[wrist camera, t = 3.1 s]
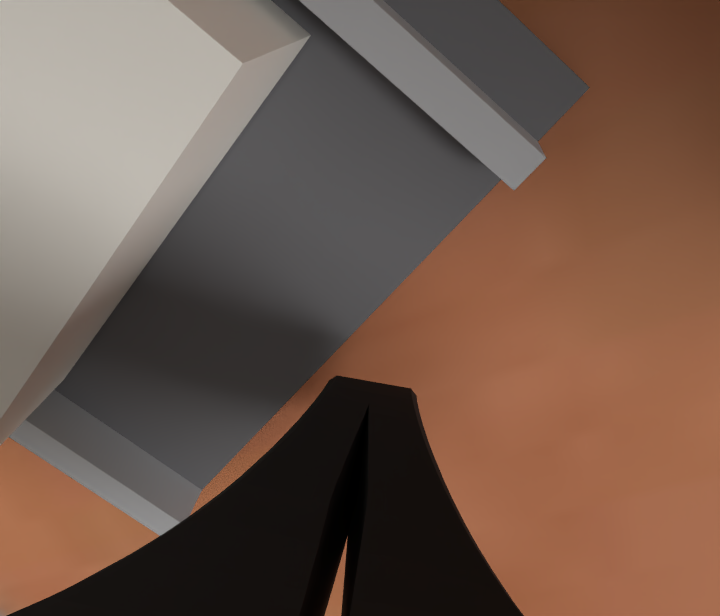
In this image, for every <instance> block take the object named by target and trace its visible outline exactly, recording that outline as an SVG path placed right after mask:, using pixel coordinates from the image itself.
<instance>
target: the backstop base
mask: <svg viewBox="0 0 720 616" xmlns="http://www.w3.org/2000/svg"><path fill="white" fill-rule="evenodd" d="M271 1H273V2H274V3H275V4H276V5H277V6H278V7H279V8H281V9H282V10H283V11H284V12H285V13H286V14H287V15H289V16H290V17H291V18H292V19H293V20H294V21H295V22H297V23H298V24H299V25H300V26H301V27H302V28H303V29H305V30H306V31H307V32H308V33H309V34H310V35H311V36H310V37H309V39H308V40H307V42H306V43H305V44H304V46H303V47H302V49H301V50H300V51H299V53H298V54H297V55H296V57H295V58H294V60H293V61H292V62H291V64H290V65H289V67H288V68H287V69H286V71H285V72H284V74H283V75H282V76H281V78H280V79H279V81H278V82H277V83H276V85H275V86H274V88H273V89H272V90H271V92H270V93H269V94H268V96H267V97H266V99H265V100H264V101H263V103H262V104H261V106H260V107H259V108H258V110H257V111H256V113H255V114H254V115H253V117H252V118H251V120H250V121H249V122H248V124H247V125H246V127H245V128H244V129H243V131H242V132H241V133H240V135H239V136H238V138H237V139H236V140H235V142H234V143H233V145H232V146H231V147H230V149H229V150H228V152H227V153H226V154H225V156H224V157H223V159H222V160H221V161H220V163H219V164H218V166H217V167H216V168H215V170H214V171H213V172H212V174H211V175H210V177H209V178H208V179H207V181H206V182H205V184H204V185H203V186H202V188H201V189H200V191H199V192H198V193H197V195H196V196H195V198H194V199H193V200H192V202H191V203H190V205H189V206H188V207H187V209H186V210H185V212H184V213H183V214H182V216H181V217H180V218H179V220H178V221H177V223H176V224H175V225H174V227H173V228H172V230H171V231H170V232H169V234H168V235H167V237H166V238H165V239H164V241H163V242H162V244H161V245H160V246H159V248H158V249H157V251H156V252H155V253H154V255H153V256H152V257H151V259H150V260H149V262H148V263H147V264H146V266H145V267H144V269H143V270H142V271H141V273H140V274H139V276H138V277H137V278H136V280H135V281H134V283H133V284H132V285H131V287H130V288H129V290H128V291H127V292H126V294H125V295H124V296H123V298H122V299H121V301H120V302H119V303H118V305H117V306H116V308H115V309H114V310H113V312H112V313H111V315H110V316H109V317H108V319H107V320H106V322H105V323H104V324H103V326H102V327H101V329H100V330H99V331H98V333H97V334H96V335H95V337H94V338H93V340H92V341H91V342H90V344H89V345H88V347H87V348H86V349H85V351H84V352H83V354H82V355H81V356H80V358H79V359H78V361H77V362H76V363H75V365H74V366H73V368H72V369H71V370H70V372H69V373H68V374H67V376H66V377H65V379H64V380H63V381H62V382H61V383H60V384H59V385H58V386H57V387H56V388H55V389H54V390H53V391H52V392H51V393H50V394H49V396H48V397H47V398H46V399H45V400H44V401H43V402H42V403H41V404H40V405H39V406H38V407H37V408H36V409H35V410H34V411H33V412H32V413H31V414H30V415H29V416H28V417H27V418H26V419H25V420H24V421H23V422H22V423H21V425H20V426H19V427H18V428H17V429H16V430H15V431H14V432H13V433H12V434H11V435H10V436H9V437H10V438H11V439H13V440H14V441H16V442H17V443H19V444H20V445H22V446H24V447H25V448H27V449H28V450H30V451H31V452H33V453H34V454H36V455H37V456H39V457H40V458H42V459H43V460H45V461H46V462H48V463H50V464H51V465H53V466H54V467H56V468H57V469H59V470H60V471H62V472H63V473H65V474H66V475H68V476H69V477H71V478H72V479H74V480H76V481H77V482H79V483H80V484H82V485H83V486H85V487H86V488H88V489H89V490H91V491H92V492H94V493H95V494H97V495H98V496H100V497H102V498H103V499H105V500H106V501H108V502H109V503H111V504H112V505H114V506H115V507H117V508H118V509H120V510H121V511H123V512H125V513H126V514H128V515H129V516H131V517H132V518H134V519H135V520H137V521H138V522H140V523H141V524H143V525H144V526H146V527H147V528H149V529H151V530H152V531H154V532H155V533H157V534H158V535H160V536H161V535H162V534H164V533H165V532H167V531H168V530H170V529H171V528H173V527H174V526H176V525H177V524H179V523H180V522H182V521H183V520H184V519H186V518H187V517H189V515H190V513H191V511H192V509H193V507H194V505H195V503H196V501H197V499H198V497H199V495H200V493H201V491H202V489H203V488H204V487H205V486H206V485H207V484H208V483H209V482H210V481H211V480H212V479H213V478H214V477H215V476H216V475H217V474H218V473H219V472H220V471H221V470H222V469H223V468H224V467H225V465H226V464H227V463H228V462H229V461H230V460H231V459H232V458H233V457H234V456H235V455H236V454H237V453H238V452H239V451H240V450H241V449H242V448H243V447H244V446H245V445H246V444H247V443H248V442H249V441H250V440H251V439H252V437H253V436H254V435H255V434H256V433H257V432H258V431H259V430H260V429H261V428H262V427H263V426H264V425H265V424H266V423H267V422H268V421H269V420H270V419H271V418H272V417H273V416H274V415H275V414H276V413H277V412H278V411H279V409H280V408H281V407H282V406H283V405H284V404H285V403H286V402H287V401H288V400H289V399H290V398H291V397H292V396H293V395H294V394H295V393H296V392H297V391H298V390H299V389H300V388H301V387H302V386H303V385H304V384H305V383H306V381H307V380H308V379H309V378H310V377H311V376H312V375H313V374H314V373H315V372H316V371H317V370H318V369H319V368H320V367H321V366H322V365H323V364H324V363H325V362H326V361H327V360H328V359H329V358H330V357H331V356H332V354H333V353H334V352H335V351H336V350H337V349H338V348H339V347H340V346H341V345H342V344H343V343H344V342H345V341H346V340H347V339H348V338H349V337H350V336H351V335H352V334H353V333H354V332H355V331H356V330H357V329H358V328H359V326H360V325H361V324H362V323H363V322H364V321H365V320H366V319H367V318H368V317H369V316H370V315H371V314H372V313H373V312H374V311H375V310H376V309H377V308H378V307H379V306H380V305H381V304H382V303H383V302H384V301H385V300H386V298H387V297H388V296H389V295H390V294H391V293H392V292H393V291H394V290H395V289H396V288H397V287H398V286H399V285H400V284H401V283H402V282H403V281H404V280H405V279H406V278H407V277H408V276H409V275H410V274H411V273H412V272H413V270H414V269H415V268H416V267H417V266H418V265H419V264H420V263H421V262H422V261H423V260H424V259H425V258H426V257H427V256H428V255H429V254H430V253H431V252H432V251H433V250H434V249H435V248H436V247H437V246H438V245H439V243H440V242H441V241H442V240H443V239H444V238H445V237H446V236H447V235H448V234H449V233H450V232H451V231H452V230H453V229H454V228H455V227H456V226H457V225H458V224H459V223H460V222H461V221H462V220H463V219H464V218H465V217H466V215H467V214H468V213H469V212H470V211H471V210H472V209H473V208H474V207H475V206H476V205H477V204H478V203H479V202H480V201H481V200H482V199H483V198H484V197H485V196H486V195H487V194H488V193H489V192H490V191H491V190H492V189H493V187H494V186H495V185H496V184H497V183H498V182H499V181H500V180H503V181H504V182H505V183H506V184H507V185H508V186H509V187H511V188H512V189H513V190H515V189H516V188H517V187H518V186H519V185H520V184H521V183H522V182H523V181H524V180H525V179H526V178H527V177H528V176H529V175H530V174H531V173H532V172H533V171H534V170H535V169H536V168H537V167H538V166H539V165H540V164H541V163H542V162H543V161H544V160H545V159H546V156H545V155H544V153H543V151H542V149H541V147H540V145H539V143H538V141H539V140H540V139H541V138H542V137H543V136H544V135H545V134H546V132H547V131H548V130H549V129H550V128H551V127H552V126H553V125H554V124H555V123H556V122H557V121H558V120H559V119H560V118H561V117H562V116H563V115H564V114H565V113H566V112H567V111H568V110H569V109H570V108H571V107H572V106H573V104H574V103H575V102H576V101H577V100H578V99H579V98H580V97H581V96H582V95H583V94H584V93H585V92H586V91H587V90H588V89H589V88H590V87H589V86H588V85H587V84H586V83H584V82H583V81H582V80H581V79H580V78H579V77H578V76H577V75H576V74H575V73H574V72H573V71H572V70H571V69H570V68H569V67H568V66H567V65H566V64H565V63H564V62H563V61H561V60H560V59H559V58H558V57H557V56H556V55H555V54H554V53H553V52H552V51H551V50H550V49H549V48H548V47H547V46H546V45H545V44H544V43H543V42H542V41H541V40H539V39H538V38H537V37H536V36H535V35H534V34H533V33H532V32H531V31H530V30H529V29H528V28H527V27H526V26H525V25H524V24H523V23H522V22H521V21H520V20H519V19H518V18H516V17H515V16H514V15H513V14H512V13H511V12H510V11H509V10H508V9H507V8H506V7H505V6H504V5H503V4H502V3H501V2H500V1H499V0H271Z"/></svg>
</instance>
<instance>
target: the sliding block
mask: <svg viewBox="0 0 720 616" xmlns="http://www.w3.org/2000/svg"><path fill="white" fill-rule="evenodd" d="M310 36H311V35H310V34H309V33H308V32H307V31H306V30H305V29H303V28H302V27H301V26H300V25H299V24H298V23H297V22H295V21H294V20H293V19H292V18H291V17H290V16H289V15H287V14H286V13H285V12H284V11H283V10H282V9H281V8H279V7H278V6H277V5H276V4H275V3H274V2H273V1H271V0H0V445H1V444H2V443H3V442H4V441H5V440H6V439H7V438H8V437H9V436H10V435H11V434H12V433H13V432H14V431H15V430H16V429H17V428H18V427H19V426H20V425H21V423H22V422H23V421H24V420H25V419H26V418H27V417H28V416H29V415H30V414H31V413H32V412H33V411H34V410H35V409H36V408H37V407H38V406H39V405H40V404H41V403H42V402H43V401H44V400H45V399H46V398H47V397H48V396H49V394H50V393H51V392H52V391H53V390H54V389H55V388H56V387H57V386H58V385H59V384H60V383H61V382H62V381H63V380H64V379H65V377H66V376H67V374H68V373H69V372H70V370H71V369H72V368H73V366H74V365H75V363H76V362H77V361H78V359H79V358H80V356H81V355H82V354H83V352H84V351H85V349H86V348H87V347H88V345H89V344H90V342H91V341H92V340H93V338H94V337H95V335H96V334H97V333H98V331H99V330H100V329H101V327H102V326H103V324H104V323H105V322H106V320H107V319H108V317H109V316H110V315H111V313H112V312H113V310H114V309H115V308H116V306H117V305H118V303H119V302H120V301H121V299H122V298H123V296H124V295H125V294H126V292H127V291H128V290H129V288H130V287H131V285H132V284H133V283H134V281H135V280H136V278H137V277H138V276H139V274H140V273H141V271H142V270H143V269H144V267H145V266H146V264H147V263H148V262H149V260H150V259H151V257H152V256H153V255H154V253H155V252H156V251H157V249H158V248H159V246H160V245H161V244H162V242H163V241H164V239H165V238H166V237H167V235H168V234H169V232H170V231H171V230H172V228H173V227H174V225H175V224H176V223H177V221H178V220H179V218H180V217H181V216H182V214H183V213H184V212H185V210H186V209H187V207H188V206H189V205H190V203H191V202H192V200H193V199H194V198H195V196H196V195H197V193H198V192H199V191H200V189H201V188H202V186H203V185H204V184H205V182H206V181H207V179H208V178H209V177H210V175H211V174H212V172H213V171H214V170H215V168H216V167H217V166H218V164H219V163H220V161H221V160H222V159H223V157H224V156H225V154H226V153H227V152H228V150H229V149H230V147H231V146H232V145H233V143H234V142H235V140H236V139H237V138H238V136H239V135H240V133H241V132H242V131H243V129H244V128H245V127H246V125H247V124H248V122H249V121H250V120H251V118H252V117H253V115H254V114H255V113H256V111H257V110H258V108H259V107H260V106H261V104H262V103H263V101H264V100H265V99H266V97H267V96H268V94H269V93H270V92H271V90H272V89H273V88H274V86H275V85H276V83H277V82H278V81H279V79H280V78H281V76H282V75H283V74H284V72H285V71H286V69H287V68H288V67H289V65H290V64H291V62H292V61H293V60H294V58H295V57H296V55H297V54H298V53H299V51H300V50H301V49H302V47H303V46H304V44H305V43H306V42H307V40H308V39H309V37H310Z"/></svg>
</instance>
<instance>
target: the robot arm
mask: <svg viewBox="0 0 720 616" xmlns="http://www.w3.org/2000/svg"><path fill="white" fill-rule="evenodd" d="M347 536H348V540H347V552H346V564H345V577H344V589H343V602H342V615H341V616H524V615H523V614H522V613H521V612H520V610H519V609H518V608H517V606H516V605H515V603H514V602H513V601H512V599H511V598H510V596H509V595H508V593H507V592H506V590H505V589H504V587H503V586H502V584H501V583H500V581H499V580H498V578H497V577H496V575H495V574H494V572H493V571H492V569H491V567H490V566H489V564H488V563H487V561H486V559H485V558H484V556H483V554H482V553H481V551H480V550H479V548H478V546H477V544H476V543H475V541H474V539H473V537H472V536H471V534H470V532H469V530H468V528H467V527H466V525H465V523H464V521H463V519H462V517H461V515H460V513H459V511H458V509H457V507H456V505H455V503H454V501H453V499H452V497H451V495H450V493H449V491H448V488H447V486H446V484H445V482H444V480H443V477H442V475H441V472H440V470H439V468H438V465H437V463H436V460H435V458H434V455H433V453H432V450H431V448H430V445H429V442H428V439H427V436H426V433H425V430H424V427H423V424H422V420H421V417H420V413H419V408H418V404H417V396H416V395H415V393H414V392H413V391H412V389H410V388H405V387H399V386H393V385H387V384H382V383H376V382H370V381H365V380H359V379H353V378H348V377H342V376H335V377H334V378H332V379H331V380H329V382H328V383H327V385H326V386H325V388H324V389H323V391H322V392H321V393H320V395H319V396H318V397H317V399H316V400H315V401H314V402H313V404H312V405H311V406H310V407H309V408H308V410H307V411H306V412H305V413H304V414H303V415H302V417H301V418H300V419H299V420H298V421H297V422H296V423H295V424H294V425H293V426H292V427H291V428H290V429H289V431H288V432H287V433H286V434H285V435H284V436H283V437H282V438H281V439H280V440H279V441H278V442H277V443H276V444H275V445H274V446H273V447H272V448H271V449H270V450H269V451H268V452H267V453H266V454H265V455H264V456H262V457H261V458H260V459H259V460H258V461H257V462H256V463H255V464H254V465H253V466H252V467H250V468H249V469H248V470H247V471H246V472H245V473H244V474H243V475H242V476H241V477H239V478H238V479H237V480H236V481H235V482H233V483H232V484H231V485H230V486H229V487H227V488H226V489H225V490H224V491H222V492H221V493H220V494H219V495H217V496H216V497H215V498H213V499H212V500H211V501H209V502H208V503H207V504H205V505H204V506H203V507H201V508H200V509H199V510H197V511H196V512H195V513H193V514H192V515H190V516H189V517H187V518H186V519H184V520H183V521H182V522H180V523H179V524H177V525H176V526H174V527H173V528H171V529H170V530H168V531H167V532H165V533H164V534H162V535H161V536H159V537H158V538H156V539H155V540H153V541H151V542H150V543H148V544H146V545H145V546H143V547H142V548H140V549H138V550H137V551H135V552H133V553H132V554H130V555H128V556H126V557H124V558H123V559H121V560H119V561H117V562H115V563H113V564H112V565H110V566H108V567H106V568H104V569H102V570H101V571H99V572H97V573H95V574H93V575H91V576H90V577H88V578H86V579H84V580H82V581H80V582H79V583H77V584H75V585H73V586H71V587H69V588H67V589H65V590H63V591H61V592H59V593H57V594H55V595H53V596H50V597H48V598H46V599H44V600H41V601H39V602H37V603H35V604H32V605H30V606H28V607H25V608H23V609H21V610H19V611H16V612H14V613H12V614H9V615H7V616H324V615H325V611H326V608H327V605H328V601H329V598H330V594H331V591H332V588H333V584H334V581H335V577H336V574H337V570H338V567H339V564H340V560H341V557H342V553H343V550H344V546H345V543H346V539H347Z"/></svg>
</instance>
